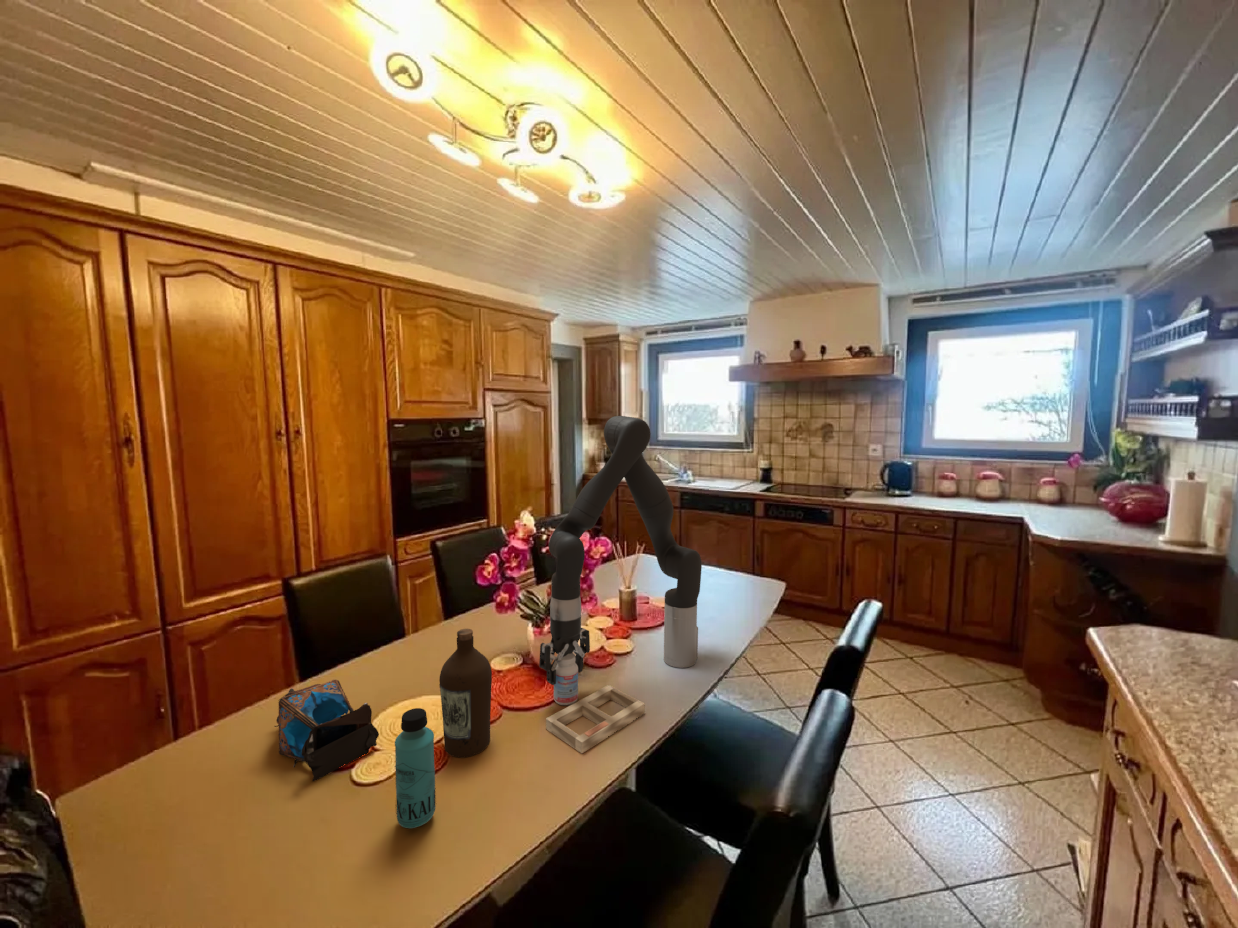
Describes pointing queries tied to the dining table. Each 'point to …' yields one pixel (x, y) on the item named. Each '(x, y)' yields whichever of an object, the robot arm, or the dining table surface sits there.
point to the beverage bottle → (415, 770)
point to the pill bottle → (566, 681)
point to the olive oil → (466, 698)
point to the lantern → (323, 728)
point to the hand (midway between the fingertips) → (565, 677)
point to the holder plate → (594, 718)
